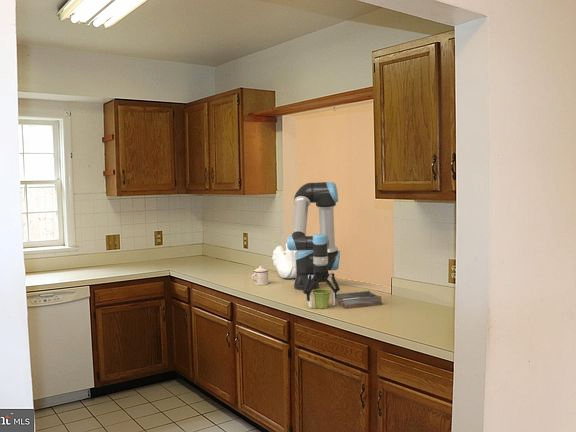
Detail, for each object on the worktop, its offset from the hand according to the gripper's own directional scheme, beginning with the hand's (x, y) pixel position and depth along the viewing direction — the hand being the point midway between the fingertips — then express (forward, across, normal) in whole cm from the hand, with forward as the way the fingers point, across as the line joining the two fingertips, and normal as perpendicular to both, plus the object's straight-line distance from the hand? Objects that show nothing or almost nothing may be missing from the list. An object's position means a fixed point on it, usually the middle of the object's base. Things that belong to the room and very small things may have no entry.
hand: (321, 305), depth 278 cm
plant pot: (+1, 0, 0) cm, 1 cm away
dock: (+1, +20, 0) cm, 20 cm away
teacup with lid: (+1, -16, +72) cm, 74 cm away
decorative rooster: (+1, +7, +87) cm, 87 cm away
